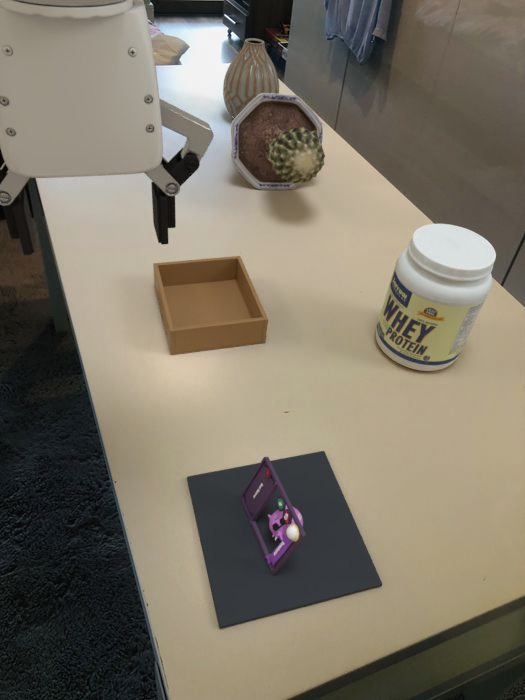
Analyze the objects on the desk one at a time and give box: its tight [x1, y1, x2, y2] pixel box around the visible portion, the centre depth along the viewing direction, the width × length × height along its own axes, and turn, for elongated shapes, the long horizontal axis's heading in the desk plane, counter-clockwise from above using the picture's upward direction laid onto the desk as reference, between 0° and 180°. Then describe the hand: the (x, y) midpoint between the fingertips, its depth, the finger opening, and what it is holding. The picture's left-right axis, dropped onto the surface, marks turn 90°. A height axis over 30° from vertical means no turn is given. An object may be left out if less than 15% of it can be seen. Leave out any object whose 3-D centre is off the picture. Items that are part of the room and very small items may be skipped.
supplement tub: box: [375, 223, 497, 372], centre depth 74 cm, size 12×12×17 cm
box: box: [152, 255, 269, 356], centre depth 79 cm, size 13×15×4 cm
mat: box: [186, 450, 383, 630], centre depth 57 cm, size 16×16×1 cm
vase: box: [222, 37, 280, 119], centre depth 129 cm, size 13×13×18 cm
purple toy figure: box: [240, 456, 306, 575], centre depth 55 cm, size 7×5×9 cm
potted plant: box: [230, 93, 326, 191], centre depth 103 cm, size 18×18×30 cm
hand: (97, 239), depth 42 cm, fingers open, 9 cm apart
